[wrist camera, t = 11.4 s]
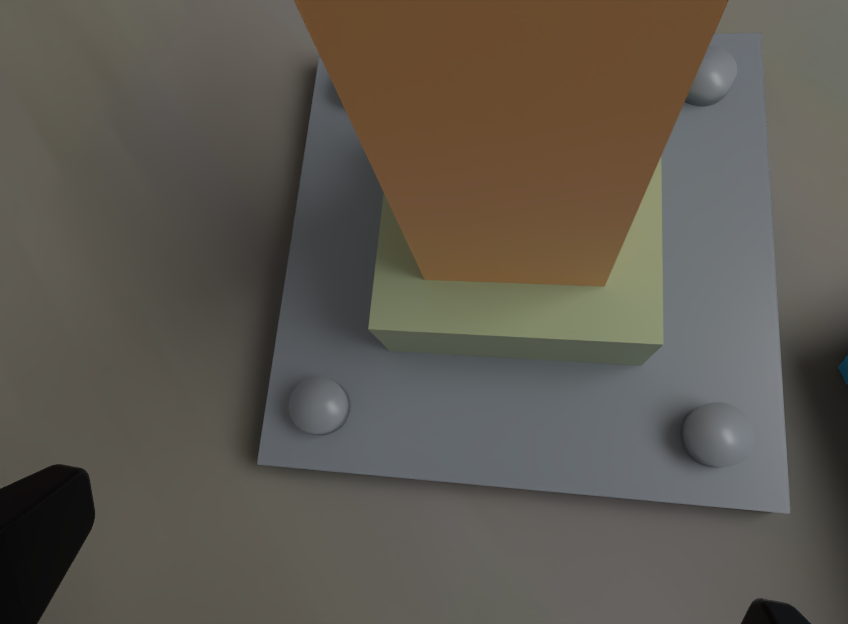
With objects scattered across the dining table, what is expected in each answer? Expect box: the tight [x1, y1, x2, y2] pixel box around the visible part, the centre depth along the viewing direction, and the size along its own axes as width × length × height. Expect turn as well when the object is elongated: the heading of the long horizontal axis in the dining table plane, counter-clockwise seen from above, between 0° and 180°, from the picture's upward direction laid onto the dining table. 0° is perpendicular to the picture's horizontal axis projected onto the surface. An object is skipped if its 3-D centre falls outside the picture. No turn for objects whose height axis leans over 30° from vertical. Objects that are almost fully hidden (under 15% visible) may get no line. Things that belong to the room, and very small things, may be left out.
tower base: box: [257, 33, 790, 514], centre depth 20 cm, size 16×16×4 cm
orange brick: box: [294, 0, 728, 286], centre depth 12 cm, size 5×5×12 cm
